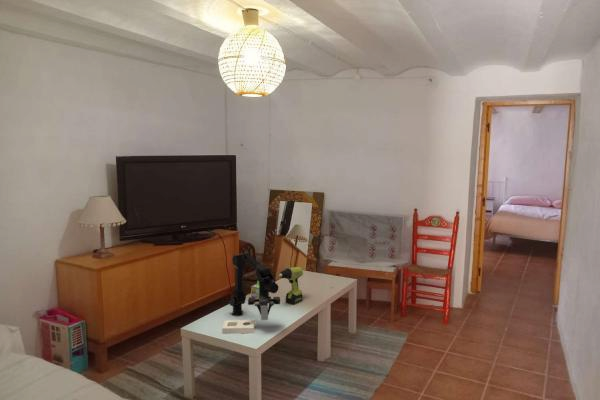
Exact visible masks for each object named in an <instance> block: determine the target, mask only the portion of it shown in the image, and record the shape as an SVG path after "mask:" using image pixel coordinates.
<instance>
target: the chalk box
mask: <svg viewBox="0 0 600 400" xmlns="http://www.w3.org/2000/svg"><path fill="white" fill-rule="evenodd" d="M250 297H255V299H259V281H257V280H256V284H253V285H251V286H250Z"/></svg>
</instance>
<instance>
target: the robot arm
mask: <svg viewBox="0 0 600 400" xmlns="http://www.w3.org/2000/svg"><path fill="white" fill-rule="evenodd" d="M231 261H232V265H233V267H234V290H233V292H232V294H231V299H230V300H229V301H228V303H229V306H231V307H232V313H231V316H242V315H243V313H244V310H243V306H242V305H243V304H244V305H245V302H246V299H247V293H246V292H245V291H244V267H245V266H246V264H248V265H249V266H250V267H251V268H252V269H253V271H254V272H255V276H256V277H257V278H256V282H257V281H259V299H255V297H251V296H249V297H248V299H247V304H248V305H247V306H253V305H254V306H255V307H256V308H257V309H258V313H259V315H260V316H261V306H262V305H265V306H267V305H268V316H269V315H270V311H271V308H272V307H274V305H281V296H273V297H272V296H270V293H271V294H276V293H277V292H279V291H278V290H279V285H278V284H277V282H276V281H275V279H274V276H273V274H272V272H271V269H270V268H269V267H267V266H266V265H263V264H261V263H260V262H259V261H257V259H256V258H254V256H253V255H252V253H251V252H244V253H240V254H235V255H233V256H232V260H231Z"/></svg>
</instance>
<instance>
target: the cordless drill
mask: <svg viewBox="0 0 600 400" xmlns="http://www.w3.org/2000/svg"><path fill="white" fill-rule="evenodd" d="M303 275H304V270H303V268H302V267H301V266H296V267H288V268H285V269H284V270H281V271H280V272H279V274H278V276H279V277H280V278H282V279H287V280H288V283H289V284H291V289H290V290H289V291H288V292H287V293H286V296H285V304H287V303H288V305H291V306H292V305H293V306H295V305H297V304H299V303H301V302H303V290H301V289H300V288H299V280H298V279H299V278H300V277H303Z"/></svg>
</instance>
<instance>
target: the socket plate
mask: <svg viewBox="0 0 600 400" xmlns="http://www.w3.org/2000/svg"><path fill="white" fill-rule="evenodd" d="M255 329H256V319H228V320H226V319H225V320H224V322H223V326H222V328H221V332H222V334H254V332H255Z"/></svg>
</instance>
